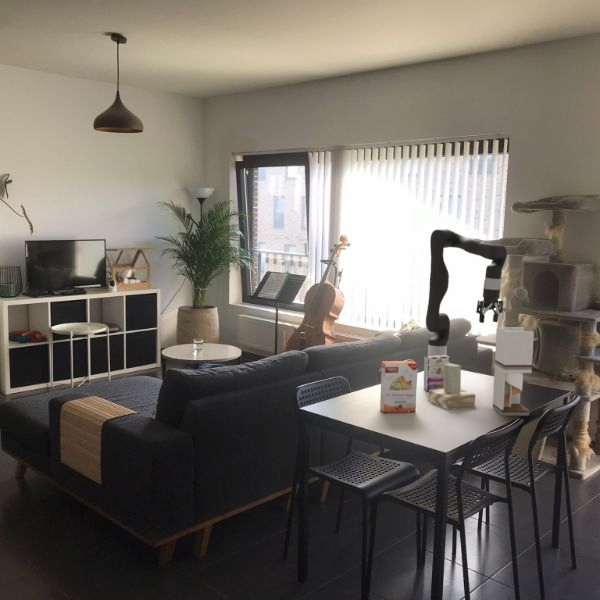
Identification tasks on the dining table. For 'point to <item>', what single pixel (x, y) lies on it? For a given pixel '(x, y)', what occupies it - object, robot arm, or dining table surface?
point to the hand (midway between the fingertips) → (488, 322)
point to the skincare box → (452, 378)
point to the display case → (511, 368)
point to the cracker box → (398, 386)
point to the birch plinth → (451, 398)
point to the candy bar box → (434, 371)
